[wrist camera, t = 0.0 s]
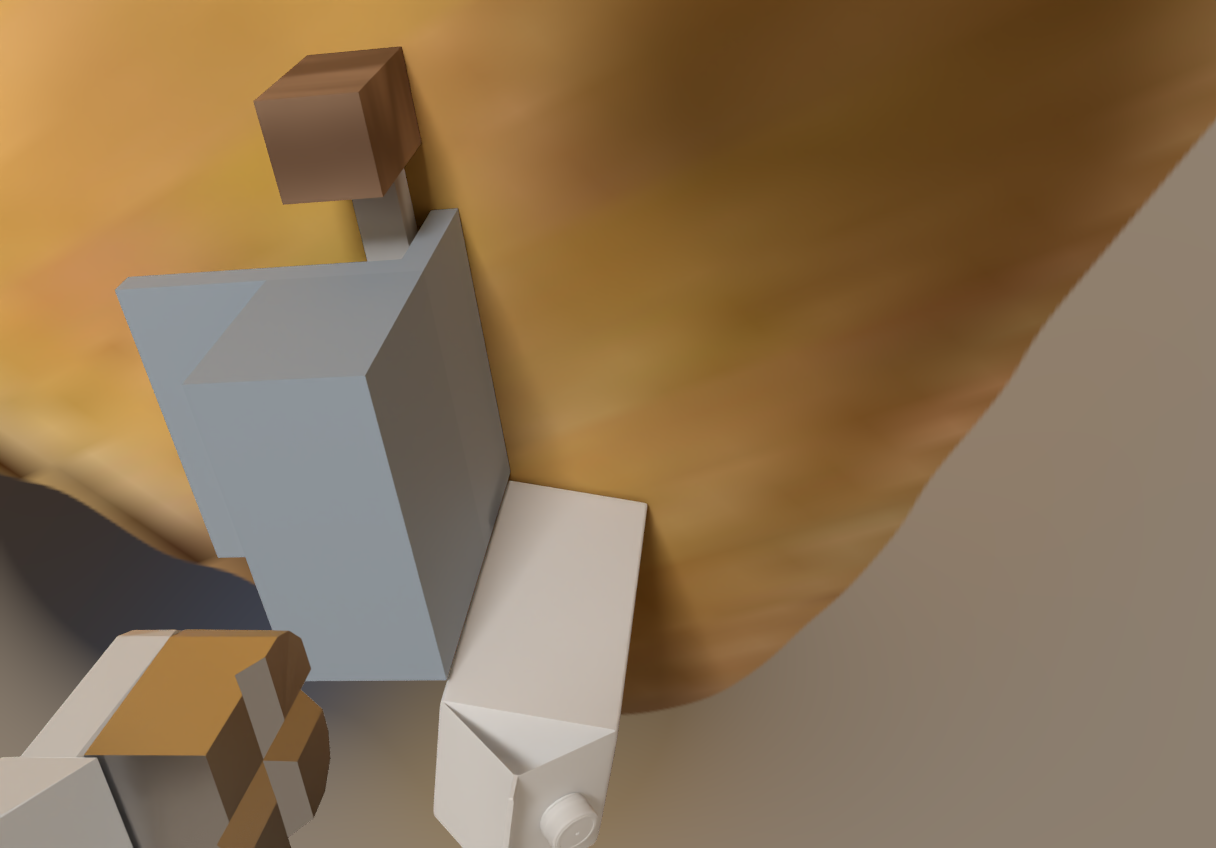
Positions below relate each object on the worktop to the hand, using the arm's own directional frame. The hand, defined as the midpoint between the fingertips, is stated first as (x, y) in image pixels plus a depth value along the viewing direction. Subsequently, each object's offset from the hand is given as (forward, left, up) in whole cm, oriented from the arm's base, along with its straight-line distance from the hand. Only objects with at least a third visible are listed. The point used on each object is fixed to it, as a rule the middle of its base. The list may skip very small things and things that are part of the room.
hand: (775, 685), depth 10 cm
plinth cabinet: (+18, -20, -39) cm, 47 cm away
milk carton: (+30, -11, -39) cm, 50 cm away
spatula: (+12, -17, -39) cm, 44 cm away
